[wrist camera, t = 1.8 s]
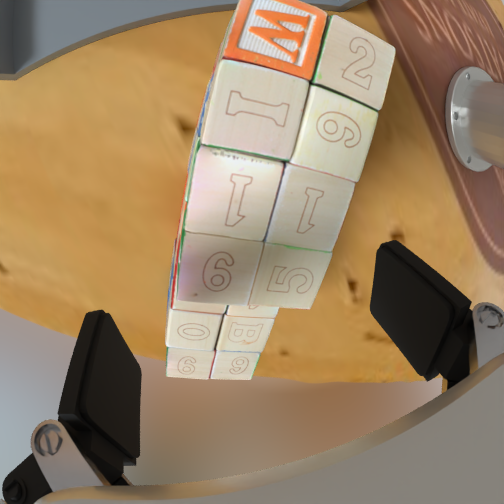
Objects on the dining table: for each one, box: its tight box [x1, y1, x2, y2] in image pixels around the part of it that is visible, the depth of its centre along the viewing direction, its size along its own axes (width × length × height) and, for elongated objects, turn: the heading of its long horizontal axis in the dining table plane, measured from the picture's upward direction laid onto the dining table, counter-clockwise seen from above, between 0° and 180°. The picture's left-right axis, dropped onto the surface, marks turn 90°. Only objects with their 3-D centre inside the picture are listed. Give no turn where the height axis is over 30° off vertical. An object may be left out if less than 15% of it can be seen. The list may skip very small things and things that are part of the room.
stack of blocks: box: [165, 0, 395, 380], centre depth 17 cm, size 21×6×12 cm, turn 165°
